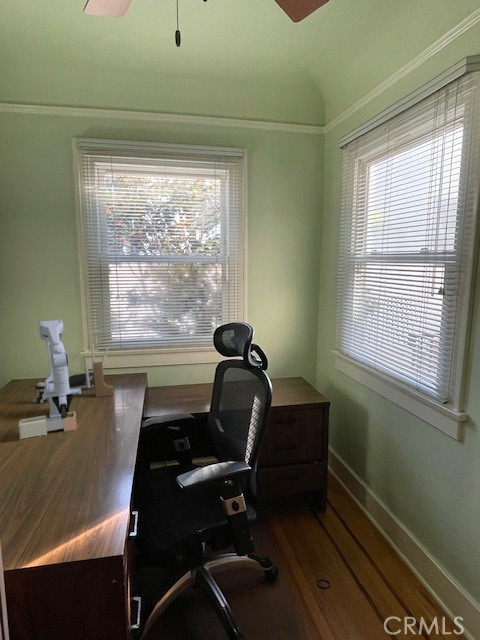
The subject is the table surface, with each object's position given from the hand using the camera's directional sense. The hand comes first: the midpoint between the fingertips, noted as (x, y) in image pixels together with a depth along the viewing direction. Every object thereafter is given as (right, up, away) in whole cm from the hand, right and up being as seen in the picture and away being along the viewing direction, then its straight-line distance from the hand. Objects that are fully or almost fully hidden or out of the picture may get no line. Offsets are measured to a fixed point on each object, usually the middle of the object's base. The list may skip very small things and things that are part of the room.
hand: (63, 412), depth 152 cm
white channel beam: (-10, -8, -4) cm, 14 cm away
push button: (-27, -3, +31) cm, 41 cm away
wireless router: (-15, +2, +60) cm, 62 cm away
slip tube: (-3, -6, -1) cm, 7 cm away
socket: (+2, -7, +2) cm, 7 cm away
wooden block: (+2, -1, +40) cm, 40 cm away
